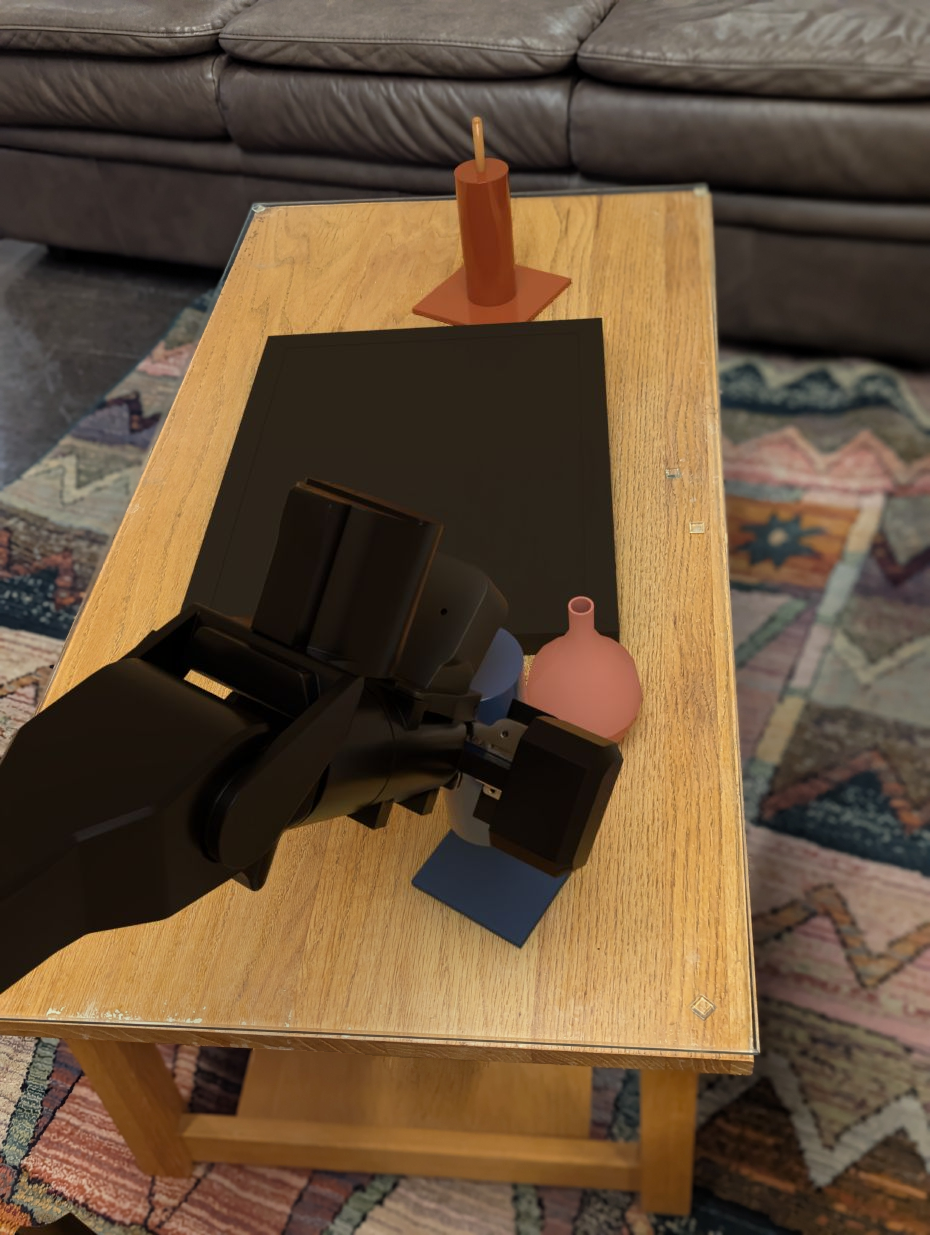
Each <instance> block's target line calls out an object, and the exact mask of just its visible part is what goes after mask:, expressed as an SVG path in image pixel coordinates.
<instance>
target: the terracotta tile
mask: <svg viewBox="0 0 930 1235" xmlns="http://www.w3.org/2000/svg"><path fill="white" fill-rule="evenodd" d="M515 270H516V285H517V293H516V295H515V297H514V298H513V299H512V300H510V301H509V302H507V303H504V304H501V305H497V306H480V305H476V304H474V303H472V302H471V301H470V300H469V299H468V297H467V292H466V283H465V273H464V264H462V266H461V267H459V268H458V269H457V270H455V271H454V272H453V273H452V274H451V275H449V276H448V277H447V278H446V279H444V280H443V282H442V283H440V284H439V285H438V286H436V287H435V288H434V289H433V290H432V291H430V292H429V293H428V294H427V295H425V297H423V298H422V299H421V300H420V301H419V302H417V303H416V304H415V305H414V306H413V307H412V308H411V311H412V314H415V315H418V316H421V317H425V318H428V319H432V320H434V321H439V322H442V323H444V324H449V325H451V326H457V325H475V324H494V323H512V322H530V321H534V319H536V317H537V316H538V315H540V313H542V311H544V310H545V309H546V308H547V307H548V306H549V305H550V304H551V303H552V302H554V300H555V299H557V297H559V296H560V295H561V294H562V293H563V292H564V291H565V290H566V289H567V288H569V286H571V285H572V278H571V277H568V276H564V275H559V274H557V273H552V272H549V271H544V270H541V269H536V268H533V267H528V266H525V265H521V264H518V263H517V264H516V263H515Z"/></svg>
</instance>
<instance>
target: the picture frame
mask: <svg viewBox="0 0 930 1235" xmlns="http://www.w3.org/2000/svg"><path fill="white" fill-rule="evenodd" d="M603 325H604V324H603V317H588V318H571V319H569V318H568V319H550V320H549V319H548V320H532V321H530V322H512V323H494V324H475V325H457V326H455V325H441V326H425V327H424V326H423V327H406V328H404V327H403V328H386V329H369V330H368V329H367V330H350V331H329V332H314V333H313V332H311V333H294V334H293V333H291V334H277V335H274V334H273V335H268V336H267V338H266V340H265V344H264V346H263V350H262V354H261V357H260V360H259V362H258V366H257V369H256V373H255V375H254V378H253V382H252V385H251V388H250V391H249V395H248V397H247V401H246V404H245V407H244V409H243V414H242V416H241V419H240V423H239V426H238V428H237V432H236V435H235V438H234V441H233V444H232V447H231V450H230V454H229V457H228V460H227V462H226V463H227V464H226V467H225V469H224V473H223V475H222V479H221V482H220V484H219V488H218V491H217V495H216V497H215V501H214V504H213V507H212V510H211V513H210V517H209V520H208V523H207V525H206V528H205V532H204V535H203V539H202V541H201V544H200V548H199V551H198V554H197V557H196V560H195V563H194V567H193V570H192V573H191V576H190V579H189V581H188V585H187V589H186V591H185V595H184V598H183V601H182V604H181V608H180V610H179V613H181V612H182V611H183V610H184V609H186V608H187V607H188V606H190V605H191V604H193V603H195V602H197V603H200V604H202V605H204V606H206V607H208V608H211V609H213V610H215V611H217V612H219V613H222V614H224V615H226V616H234V617H253V616H254V614H255V611H256V608H257V605H258V601H259V598H260V595H261V592H262V588H263V585H264V582H265V579H266V575H267V572H268V569H269V566H270V562H271V559H272V556H273V553H274V549H275V546H276V542H277V536H278V529H279V523H280V519H281V515H282V511H283V508H284V505H285V502H286V498H287V495H288V492H289V490H290V489H291V488H292V487H293V486H294V485H295V486H296V484H297V482H298V481H302V482H305V480H306V477H309V478H314V479H318V480H321V481H325V482H329V483H332V484H336V485H339V486H343V487H346V488H349V489H352V490H356V491H359V492H362V493H365V494H368V495H371V496H374V497H377V498H380V499H383V500H386V501H389V502H392V503H395V504H398V505H401V506H404V507H407V508H409V509H412V510H415V511H417V512H420V513H423V514H425V515H428V516H430V517H433V518H435V519H437V520H439V521H441V522H443V523H445V527H444V530H443V534H442V537H441V540H440V543H439V546H438V549H437V552H440V553H442V554H445V555H448V556H450V557H453V558H455V559H458V560H461V561H463V562H466V563H469V564H471V565H474V566H476V567H478V568H480V569H482V570H483V571H484V572H485V574H486V575H487V576H488V577H489V579H490V580H491V581H492V582H493V584H494V585H495V586H496V588H497V589H498V590H499V591H500V593H501V594H502V595H503V597H504V598H505V599H506V601H507V604H508V614H507V617H506V619H505V622H504V624H503V625H502V627H500V628H502V629H504V630H506V631H507V632H509V633H510V634H511V635H512V636H513V637H514V638H515V639H516V640H517V641H518V643H519V645H520V646H521V649H522V651H523V656H536V654H537V653H538V652H539V651H540V650H541V648H542V647H543V646H544V645H546V644H548V643H550V642H551V641H553V640H555V639H556V638H558V637H562V636H564V635H565V634H566V633H567V632H568V630H569V611H568V605H569V602H570V601H571V600H572V599H574V598H576V597H587V598H589V599H591V600H592V602H593V604H594V629H595V630H596V631H597V632H598V633H599V634H600V635H601V636H605V637H608V638H611V639H613V640H614V641H616V642H618V643H619V644H620V632H621V631H620V616H619V615H620V614H619V612H620V611H619V597H618V578H617V560H616V558H617V557H616V543H615V526H614V525H615V524H614V523H615V522H614V509H613V508H614V506H613V487H612V486H613V485H612V468H611V452H610V434H609V433H610V432H609V417H608V416H609V415H608V414H609V413H608V396H607V379H606V360H605V343H604V326H603Z"/></svg>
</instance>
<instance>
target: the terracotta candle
mask: <svg viewBox="0 0 930 1235" xmlns="http://www.w3.org/2000/svg"><path fill="white" fill-rule="evenodd" d="M471 127H472V136H473V137H472V139H473V148H474V158H473V159H470V160H466V161H465V162H462V163H460V164H459V165H458V166H457V167H456V168H455V169H454V172H453V178H454V179H453V180H454V189H455V197H456V208H457V215H458V216H457V217H458V224H459V236H460V243H461V252H462V253H461V255H462V262H463V263H462V265H464V273H465V283H466V292H467V297H468V299H469V300H470V301H471V302H472V303H474V304H476V305H480V306H497V305H501V304H504V303H507V302H509V301H510V300H512V299H513V298H514V297H515V295H516V293H517V285H516V270H515V264H516V258H515V256H516V255H515V245H514V244H515V242H514V241H515V240H514V228H513V227H514V226H513V216H512V198H511V186H510V185H511V183H510V172H509V170H510V169H509V165H508V164H507V162H505V161H503V160H501V159H498V158H492V157H486V156H485V143H484V131H483V130H484V129H483V121H482V118H481V117H479V116H474V117H473V118H472V120H471Z"/></svg>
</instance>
